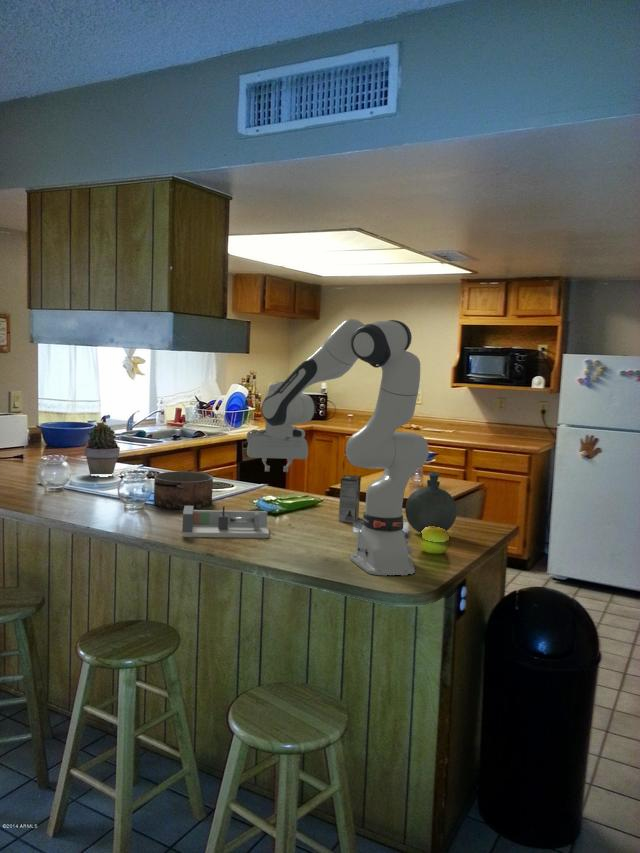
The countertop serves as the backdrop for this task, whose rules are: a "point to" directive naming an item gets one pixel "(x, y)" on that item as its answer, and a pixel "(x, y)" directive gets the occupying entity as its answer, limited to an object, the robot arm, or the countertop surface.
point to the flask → (431, 506)
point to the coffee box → (349, 498)
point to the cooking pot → (183, 489)
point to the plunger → (248, 520)
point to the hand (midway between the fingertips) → (276, 471)
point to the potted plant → (101, 450)
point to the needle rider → (223, 520)
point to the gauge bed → (207, 524)
